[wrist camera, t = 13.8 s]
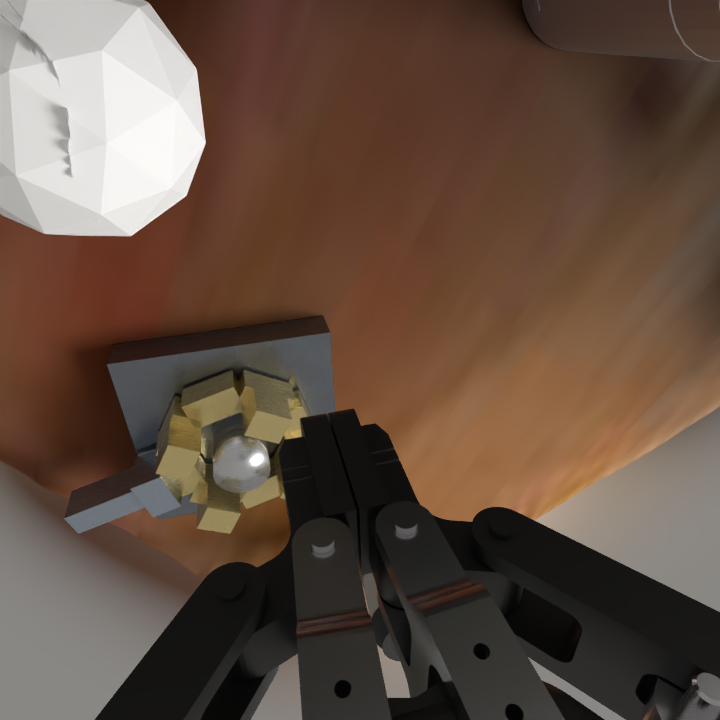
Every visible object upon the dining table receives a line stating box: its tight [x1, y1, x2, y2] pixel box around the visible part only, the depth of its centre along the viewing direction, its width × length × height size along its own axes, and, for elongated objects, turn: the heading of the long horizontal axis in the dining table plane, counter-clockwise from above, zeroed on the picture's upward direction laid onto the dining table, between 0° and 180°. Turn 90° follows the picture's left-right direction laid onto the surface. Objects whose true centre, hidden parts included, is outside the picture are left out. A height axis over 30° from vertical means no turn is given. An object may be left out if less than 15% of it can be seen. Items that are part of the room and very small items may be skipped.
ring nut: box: [64, 370, 310, 534], centre depth 44 cm, size 21×12×5 cm, turn 107°
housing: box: [107, 316, 335, 520], centre depth 45 cm, size 17×17×8 cm
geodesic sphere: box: [0, 0, 206, 236], centre depth 28 cm, size 14×14×14 cm
